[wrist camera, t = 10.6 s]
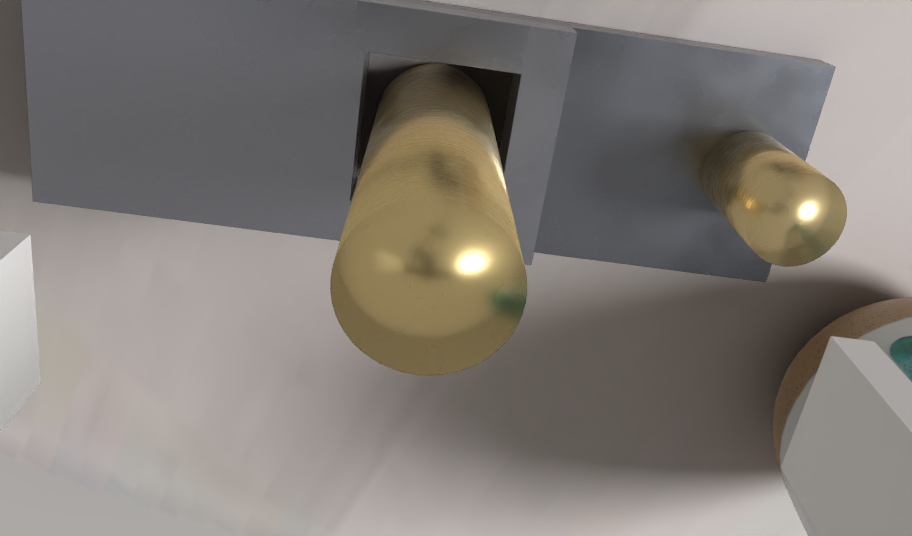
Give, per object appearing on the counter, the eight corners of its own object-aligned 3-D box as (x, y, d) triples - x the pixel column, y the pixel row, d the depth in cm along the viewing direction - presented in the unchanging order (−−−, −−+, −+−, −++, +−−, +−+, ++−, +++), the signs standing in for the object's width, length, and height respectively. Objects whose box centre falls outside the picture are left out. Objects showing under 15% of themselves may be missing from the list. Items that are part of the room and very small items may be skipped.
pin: (383, 55, 29) (339, 184, 16) (498, 72, 29) (543, 211, 17) (371, 166, 31) (322, 363, 18) (480, 181, 31) (509, 385, 18)
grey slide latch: (53, -56, 27) (-44, -42, 22) (820, 60, 29) (907, 98, 24) (63, 178, 31) (-20, 240, 25) (754, 268, 33) (817, 344, 27)
